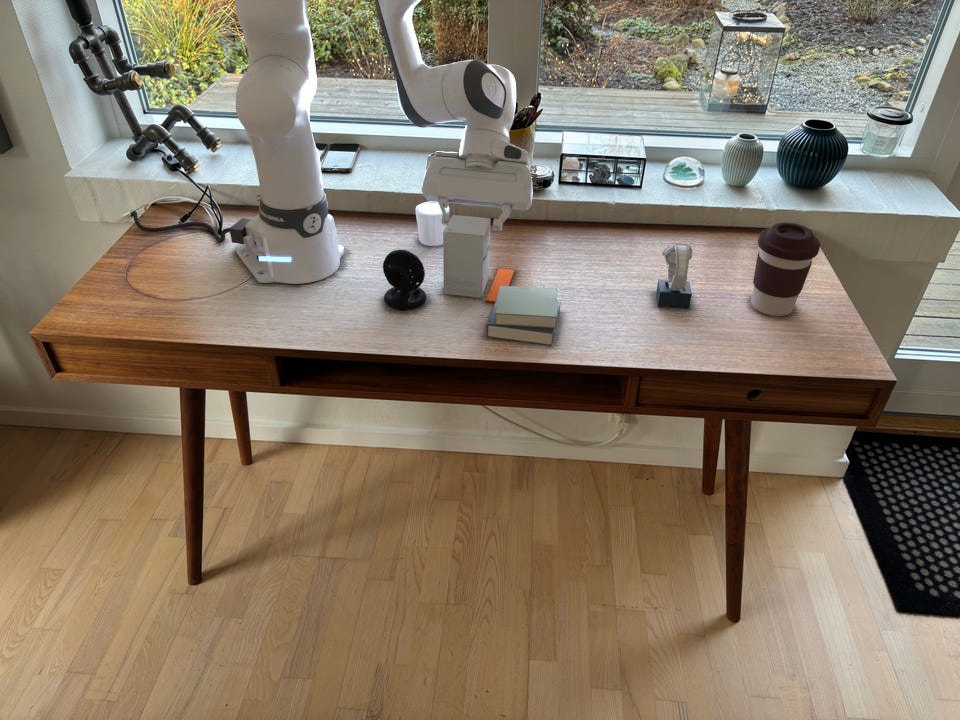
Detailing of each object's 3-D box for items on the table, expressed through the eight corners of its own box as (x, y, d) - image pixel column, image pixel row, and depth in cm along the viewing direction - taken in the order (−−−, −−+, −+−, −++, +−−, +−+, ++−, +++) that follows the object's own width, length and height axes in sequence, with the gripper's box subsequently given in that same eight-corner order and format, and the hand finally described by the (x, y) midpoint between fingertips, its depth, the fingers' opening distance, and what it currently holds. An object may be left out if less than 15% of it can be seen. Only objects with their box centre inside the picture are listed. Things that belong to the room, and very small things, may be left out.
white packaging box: (482, 299, 142) (483, 235, 134) (442, 294, 143) (441, 231, 135) (490, 279, 147) (491, 217, 140) (451, 274, 149) (451, 213, 141)
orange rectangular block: (498, 270, 150) (498, 268, 150) (514, 271, 150) (514, 270, 150) (485, 301, 141) (485, 299, 140) (502, 303, 140) (502, 302, 140)
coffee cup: (810, 319, 137) (834, 242, 129) (758, 323, 136) (778, 246, 127) (784, 290, 145) (804, 216, 137) (733, 294, 144) (751, 219, 135)
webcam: (376, 306, 139) (372, 256, 133) (395, 286, 145) (392, 237, 139) (416, 315, 137) (413, 264, 131) (433, 294, 142) (432, 245, 137)
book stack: (486, 337, 131) (487, 312, 129) (498, 305, 140) (499, 281, 137) (553, 346, 130) (555, 321, 127) (561, 313, 138) (563, 289, 135)
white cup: (456, 237, 161) (456, 206, 157) (437, 250, 156) (436, 218, 152) (429, 229, 164) (428, 198, 160) (409, 241, 159) (408, 210, 155)
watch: (685, 290, 145) (695, 237, 138) (690, 314, 138) (701, 258, 132) (654, 288, 145) (663, 235, 139) (657, 311, 139) (667, 256, 132)
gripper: (424, 142, 142) (411, 215, 140) (536, 152, 139) (524, 226, 136) (431, 157, 148) (419, 227, 146) (538, 167, 145) (527, 238, 143)
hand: (471, 227), depth 141 cm, fingers open, 8 cm apart
